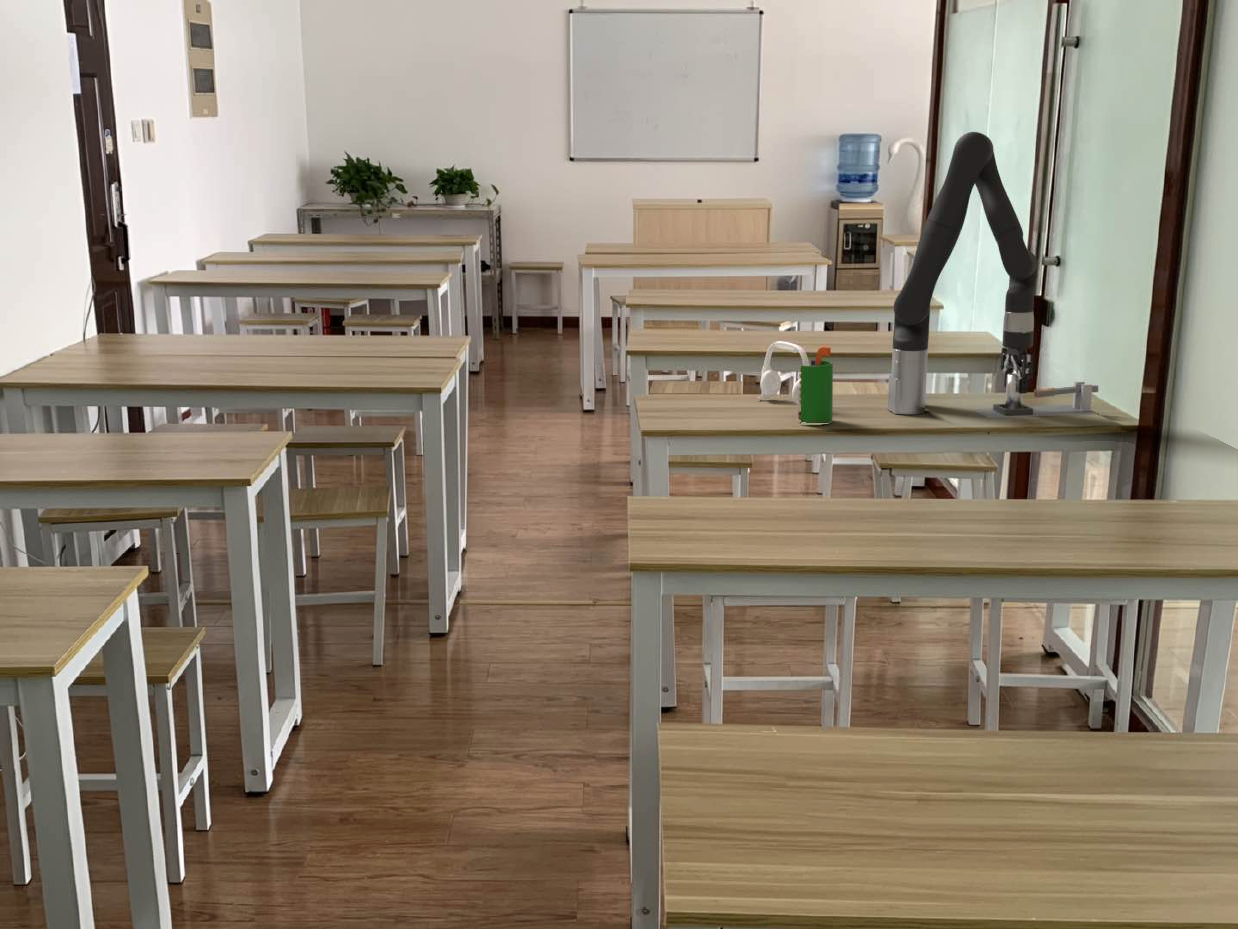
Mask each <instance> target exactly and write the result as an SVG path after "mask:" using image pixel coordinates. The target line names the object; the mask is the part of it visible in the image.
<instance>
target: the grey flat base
mask: <svg viewBox="0 0 1238 929" xmlns="http://www.w3.org/2000/svg"><path fill="white" fill-rule="evenodd" d="M1074 386H1082V387H1081V392H1080V393H1073V398H1072V404H1059V405H1035V406H1033V405H1031V406H1028V405H1025V404H1023V403H1021V409H1005V403H996V404H995V403H994V404H992V405H993V406H992V407H991V408H990V407H989V408H988V407H985V408H984V407H983V408H971V411H974V412H976V413H977V414H980V415H981V416H984V417H985V418H988V419H1008V418H1009V419H1010V418H1028V417H1029V418H1032V417H1035V418H1036V417H1049V416H1050V417H1055V416H1056V417H1057V416H1058V417H1059V416H1078V415H1082V416H1083V415H1097V416H1100V415H1101V414H1100V413H1099V412H1097V411H1094V410H1092V409H1091V408H1092V406H1091V405H1092V394H1093V393H1092V386H1093V384H1091V383H1088V384H1087V383H1086V381H1074V384H1073V387H1074Z"/></svg>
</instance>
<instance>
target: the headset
mask: <svg viewBox="0 0 1238 929" xmlns="http://www.w3.org/2000/svg"><path fill="white" fill-rule="evenodd" d="M775 348H777V349H778V350H784V351H788V352H791V353H794V354H796V353H799V355H800V357H801V360H802V363H803V364H802V365H803V366H811V364H810V361H809V358H808V355H807V353H806V351H805V349H804V348H802V347H801V346H800V345H798V344H795V343H792V342H789V341H783V340H782V341H781V340H778V341H774V342H773V343H770V345H769V346H768V348H767V351H766V354H765V358H764V362H763V367H761V378H760V384H759V385H760V386H759V387H760V390H761V395H760V396H771V397H774V396H776V395H777V394H778V393H779V392H780V389H781V387H782V378H781V376H780V374H779V373H778V371H776V370H774V369H772V367H771V359H772V354H773V351H774V349H775ZM800 380H801V378H799V379H798V380H797V381H796V382H795V383H794V385H793V387H792V391H791V397H792V400H793V402H794V403H795V404H797V405H799V406H801V404H800V403H799V400H801V398H800V397H799V394H800V393H801V391H800V390H799V388H800V387H801V385H800V384H799V381H800ZM760 396H758V397H757V398H767V399H769V398H770V397H760Z"/></svg>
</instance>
